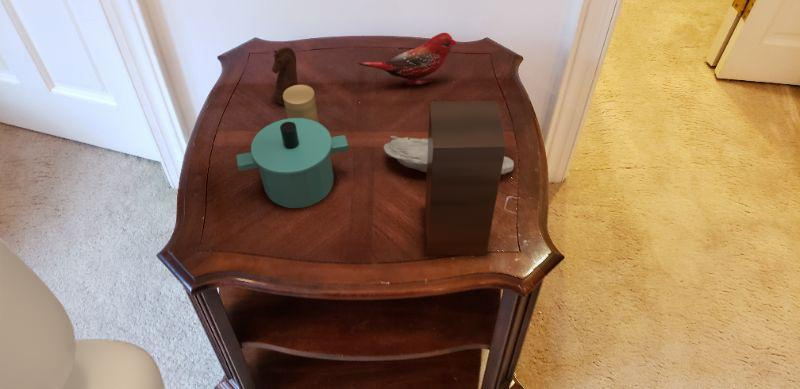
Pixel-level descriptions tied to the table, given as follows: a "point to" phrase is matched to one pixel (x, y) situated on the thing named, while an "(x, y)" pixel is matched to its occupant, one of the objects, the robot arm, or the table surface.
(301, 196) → the pot
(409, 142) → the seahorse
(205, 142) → the table surface
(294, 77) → the chess piece
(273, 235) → the table surface
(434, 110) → the pedestal
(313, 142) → the pot lid
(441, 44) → the decorative bird figurine
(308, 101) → the cylinder
